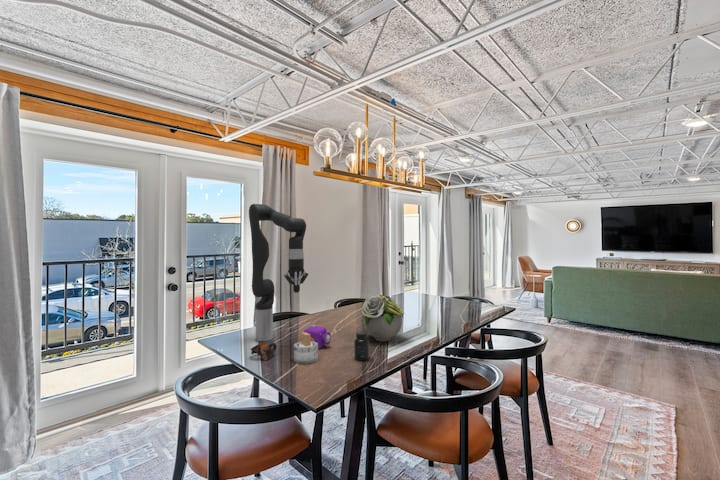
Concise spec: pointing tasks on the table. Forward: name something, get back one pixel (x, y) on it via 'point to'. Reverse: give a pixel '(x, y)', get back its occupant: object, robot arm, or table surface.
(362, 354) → the supplement bottle
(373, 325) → the flower arrangement
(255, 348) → the brown teapot
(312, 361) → the glass candle holder
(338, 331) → the table surface
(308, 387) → the table surface
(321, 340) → the toy camera
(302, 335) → the knob lid with grip
